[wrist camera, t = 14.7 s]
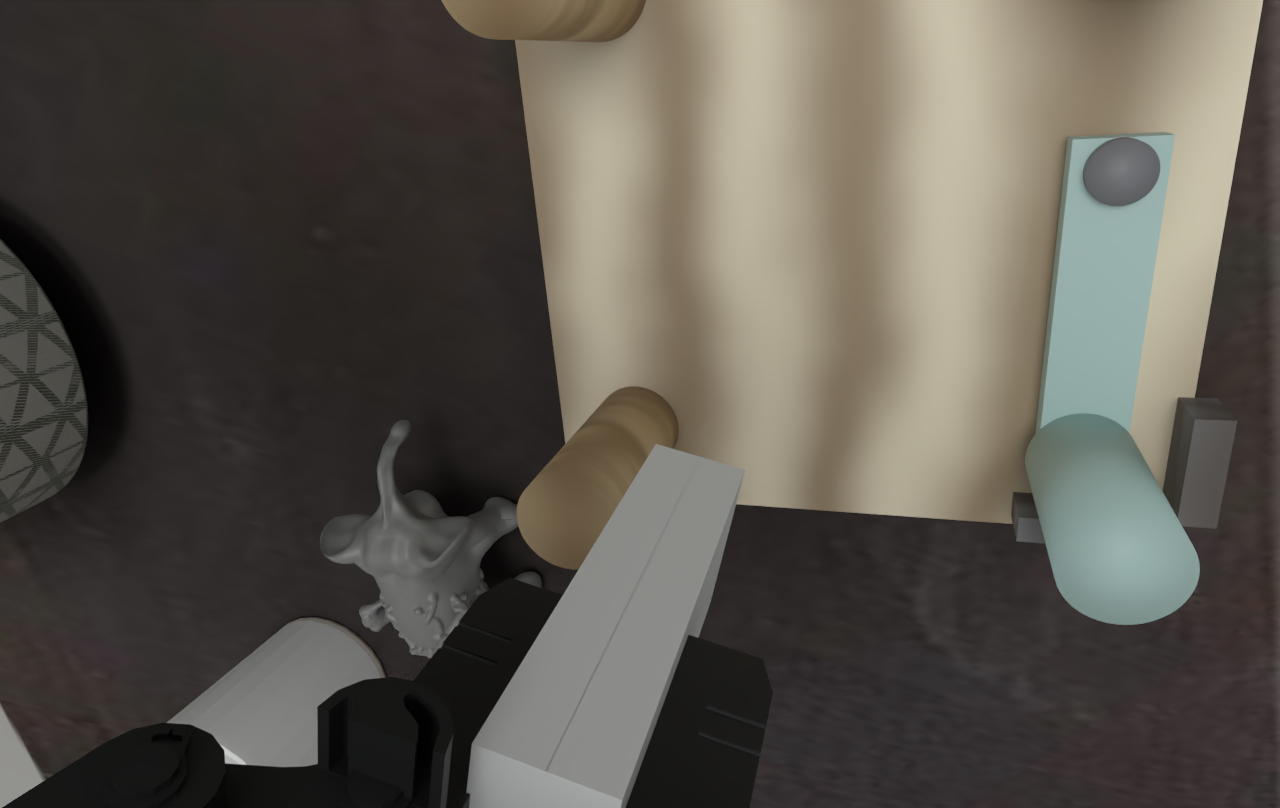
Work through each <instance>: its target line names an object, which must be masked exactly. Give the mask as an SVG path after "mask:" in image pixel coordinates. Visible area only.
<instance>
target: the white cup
mask: <svg viewBox="0 0 1280 808" xmlns="http://www.w3.org/2000/svg"><path fill="white" fill-rule="evenodd" d="M376 678H386V675H385V673H384V670H383V668H382V665H381V663H380V661H379V659H378V658H377V656H376V655H375V653H374V652H373V650H372V649H371V648H370V647H369V646H368V645H367V644H366V643H365V642H364V641H363V640H362V639H361V638H360V637H359V636H358V635H357V634H355V633H354V632H352V631H351V630H349V629H348V628H347V627H345V626H343V625H341V624H338V623H336V622H334V621H332V620H328V619H323V618H319V617H308V618H299V619H297V620H294V621H291V622H289V623H288V624H287V625H285V626H284V627H283V628H282V629H280V630H279V631H278V632H277V633H276V634H274V635H273V636H272V637H271V638H269V639H268V640H267V641H266V642H265V643H263V644H262V645H261V646H260V647H259V648H257V649H256V650H255V651H254V652H252V653H251V654H250V655H249V656H248V657H246V658H245V659H244V660H243V661H241V662H240V663H239V664H238V665H237V666H235V667H234V668H233V669H232V670H231V671H229V672H228V673H227V674H226V675H224V676H223V677H222V678H221V679H220V680H218V681H217V682H216V683H215V684H213V685H212V686H211V687H210V688H209V689H207V690H206V691H205V692H204V693H203V694H201V695H200V696H199V697H198V698H196V699H195V700H194V701H193V702H192V703H190V704H189V705H188V706H187V707H185V708H184V709H183V710H182V711H181V712H179V713H178V714H177V715H176V716H174V717H173V718H172V719H171V720H170V721H168V722H167V723H175V724H190V725H193V726H195V727H197V728H200V729H202V730H204V731H206V732H208V733H211V734H212V735H213V736H214V738H215V739H216V740H217V742H218V743H219V744H220V745H221V747H222V748H223V749H224V755H225V763H226V764H242V765H258V766H274V767H303V766H310V765H315V764H318V722H317V707H318V706H319V705H320V704H321V703H323V702H324V701H325V700H326V699H328V698H329V697H330V696H331V695H333V694H334V693H335V692H336V691H337V690H339V689H342V688H344V687H347V686H349V685H352V684H354V683H357V682H359V681H362V680H366V679H376Z"/></svg>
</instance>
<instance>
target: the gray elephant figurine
mask: <svg viewBox="0 0 1280 808" xmlns="http://www.w3.org/2000/svg"><path fill="white" fill-rule="evenodd" d="M410 430H411V424H410V422H409V421H407V420H400V421H398V422H397V423H395V424H394V425H393V427H392V428H391V431H390V435H389V437H388V439H387V441H386V442H385V444H384V446H383V447H382V451H381V455H380V457H379V461H378V465H377V480H378V488H379V492H380V496H381V502H380V505H379V507H378V509H377V511H376V512H375V513H374V515H373V516H371V515H367V514H351V515H345V516H339V517H335V518H333V519H332V520H330V521H329V522H328V523H327V525H326V526H325V527H324V529H323V531H322V534H321V537H320V547H321V550H322V552H323V554H324V555H325V556H326V557H327V558H328V559H330V560H332V561H334V562H336V563H341V564H351V563H355V564H356V565H357V566H359V567H360V568H361V569H362V570H363V571H365V572H367V573H369V574H371V575H372V576H373V577H374V578H375V580H376V582H377V584H378V586H379V588H380V590H381V592H380V596H379V597H380V599H379V600H378V601H376V602H375V603H372V604H370V603H366V604H364V605H362V606H361V608H360V610H359V614H360V616H361V618H362V623H363V625H364V626H365V627H368V628H370V629H371V630H372V631H375V632H379V631H380V630H381V629H382V628H383V627H384V626H385V625H386V624H387V623H389V622H390V621H391V622H392V624H393V626H394V628H395V629H397V630H398V631H400V632H399V634H398V636H399V637H400V638H404V639H405V640H406V642H407V643H408V645H409V647H410V653H411V654H412V655H419V656H427V657H428V658H432V656H433V655H434V654H435V652H436V651H437V650H438V648H440V649H441V647H442V645H443V642H444V641H445V639H446V638H447V637H448V635H449V634H450V633H451V631H452V630H453V629H454V628H455V626H458V624H459V621H460V620H461V618H462V617H463V616H464V614H465V613H466V612H467V610H468V609H469V608H470V607H471V605H472V604H473V603H474V601H475V600H476V599H477V597H478V596H479V595H480V594H482V593H484V592H486V591H487V590H489V589H490V588H489V587H488V586H487V584H486V583H485V582H484V581H483V578H484V574H483V571H482V570H481V569H480V563H481V559H482V557H483V556H484V554H485V553H486V552H487V551H488V549H489V548H490V547H491V546H492V545H493V544H494V543H495V541H497V540H498V539H499V538H500V537H501V536H503V535H505V534H507V533H509V532H511V531H512V530H514V529H515V528H517V527H518V522H517V514H516V513H517V505H516V504H514V503H513V502H511V501H509V500H508V499H505V498H502V497H492V498H490V499H488V500H487V501H486V503H485V505H484V508H483V509H482V510H481V511H478V512H476V513H474V514H471V515H469V516H467V517H465V516H455V517H449V516H448V515H446V514H445V513H444V511H443V509H442V507H441V506H440V504H439V502H438V500H437V499H436V498H435V497H434V496H433V495H432V494H430V493H428V492H426V491H423V490H414V491H411V492H409V493H406V494H405V495H403V494H402V493H401V492H400V491H399V489H398V487H397V485H396V483H395V480H394V472H393V467H394V460H395V457H396V454H397V451H398V449H399V447H400V445H401V444H402V443H403V442H404V441H405V440H406V438H407V437H408V435H409V433H410ZM514 579H516V580H519V581H522V582H525V583H528V584H531V585H534V586H537V587H540V588H541V587H542V581H541V578H540V576H539V575H538V574H537V573H536V572H533V571H527V572H523V573H521V574H519V575H518V576H516V577H515V578H514Z"/></svg>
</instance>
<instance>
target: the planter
mask: <svg viewBox="0 0 1280 808" xmlns="http://www.w3.org/2000/svg"><path fill="white" fill-rule="evenodd" d="M88 421H89V416H88V402H87V396H86V390H85V385H84V380H83V376H82V372H81V369H80V366H79V362H78V359H77V356H76V353H75V351H74V348H73V346H72V343H71V341H70V338H69V336H68V334H67V332H66V330H65V327H64V325H63V323H62V321H61V319H60V317H59V316H58V314H57V312H56V310H55V308H54V307H53V305H52V303H51V302H50V300H49V298H48V297H47V295H46V294H45V292H44V291H43V289H42V287H41V286H40V285H39V283H38V282H37V281H36V279H35V278H34V276H33V275H32V274H31V272H30V271H29V270H28V269H27V267H26V266H25V265H24V264H23V263H22V261H21V260H20V259H19V258H18V257H17V255H16V254H15V253H14V252H13V251H12V250H11V249H10V248H9V247H8V246H7V245H6V244H5V243H4V242H3V241H2V240H1V239H0V523H1V522H3V521H5V520H7V519H9V518H11V517H13V516H15V515H17V514H19V513H21V512H23V511H24V510H26V509H28V508H30V507H32V506H34V505H36V504H38V503H40V502H42V501H44V500H46V499H48V498H50V497H52V496H53V495H55V494H56V493H58V492H59V491H60V490H61V489H63V488H64V487H65V486H66V485H67V484H68V483H69V482H70V480H71V479H72V478H73V476H74V475H75V473H76V472H77V470H78V468H79V466H80V464H81V461H82V459H83V456H84V452H85V448H86V444H87V437H88Z"/></svg>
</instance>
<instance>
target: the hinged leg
mask: <svg viewBox="0 0 1280 808" xmlns="http://www.w3.org/2000/svg"><path fill="white" fill-rule="evenodd" d="M1174 139H1175V135H1174V134H1171V133H1168V132H1155V133H1134V134H1113V135H1092V136H1071V137H1068V138H1067V147H1066V156H1065V165H1064V175H1063V184H1062V193H1061V202H1060V211H1059V220H1058V230H1057V239H1056V248H1055V257H1054V266H1053V275H1052V285H1051V294H1050V303H1049V312H1048V321H1047V330H1046V340H1045V349H1044V358H1043V367H1042V376H1041V385H1040V395H1039V404H1038V413H1037V422H1036V431H1035V435H1034V437H1033V438H1032V439H1031V441H1030V443H1029V445H1028V448H1027V451H1026V455H1025V466H1026V471H1027V475H1028V479H1029V483H1030V486H1031V490H1032V494H1033V498H1034V502H1035V505H1036V509H1037V513H1038V517H1039V521H1040V525H1041V528H1042V532H1043V536H1044V540H1045V544H1046V547H1047V551H1048V555H1049V559H1050V563H1051V566H1052V570H1053V574H1054V578H1055V581H1056V585H1057V587H1058V589H1059V591H1060V593H1061V594H1062V596H1063V597H1064V599H1065V600H1066V601H1067V602H1068V603H1069V604H1070V605H1071V606H1072V607H1074V608H1075V609H1076V610H1078V611H1079V612H1081V613H1082V614H1084V615H1086V616H1088V617H1090V618H1093V619H1096V620H1098V621H1102V622H1106V623H1112V624H1121V625H1132V624H1141V623H1147V622H1151V621H1154V620H1157V619H1160V618H1162V617H1164V616H1167V615H1169V614H1170V613H1172V612H1174V611H1175V610H1177V609H1178V608H1179V607H1180V606H1182V605H1183V604H1184V603H1185V602H1186V601H1187V600H1188V599H1189V597H1190V596H1191V594H1192V593H1193V591H1194V589H1195V587H1196V585H1197V582H1198V579H1199V572H1200V567H1199V560H1198V556H1197V553H1196V551H1195V549H1194V547H1193V545H1192V543H1191V541H1190V540H1189V538H1188V536H1187V534H1186V532H1185V531H1184V529H1183V527H1182V525H1181V523H1180V522H1179V520H1178V518H1177V516H1176V515H1175V513H1174V511H1173V509H1172V507H1171V506H1170V504H1169V502H1168V500H1167V498H1166V497H1165V495H1164V493H1163V491H1162V489H1161V488H1160V486H1159V484H1158V482H1157V481H1156V479H1155V477H1154V475H1153V473H1152V472H1151V470H1150V468H1149V466H1148V464H1147V463H1146V461H1145V459H1144V457H1143V456H1142V454H1141V452H1140V450H1139V448H1138V447H1137V445H1136V443H1135V441H1134V439H1133V438H1132V436H1131V435H1130V433H1129V431H1130V425H1131V418H1132V412H1133V405H1134V399H1135V392H1136V386H1137V379H1138V373H1139V366H1140V360H1141V353H1142V347H1143V340H1144V334H1145V327H1146V321H1147V315H1148V308H1149V302H1150V295H1151V289H1152V282H1153V276H1154V269H1155V263H1156V256H1157V250H1158V243H1159V237H1160V230H1161V224H1162V217H1163V211H1164V204H1165V198H1166V191H1167V185H1168V178H1169V172H1170V165H1171V159H1172V152H1173V146H1174Z"/></svg>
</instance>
